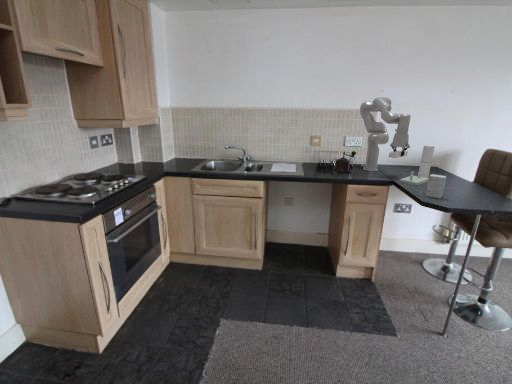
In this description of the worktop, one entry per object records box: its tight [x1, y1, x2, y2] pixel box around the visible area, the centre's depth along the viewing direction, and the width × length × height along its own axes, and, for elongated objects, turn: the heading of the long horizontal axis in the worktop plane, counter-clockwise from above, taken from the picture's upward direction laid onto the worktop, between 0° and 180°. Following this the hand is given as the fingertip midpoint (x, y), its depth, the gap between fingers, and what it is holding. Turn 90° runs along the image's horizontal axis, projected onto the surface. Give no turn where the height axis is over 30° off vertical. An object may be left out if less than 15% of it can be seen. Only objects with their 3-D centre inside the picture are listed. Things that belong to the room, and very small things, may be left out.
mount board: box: [399, 168, 429, 186], centre depth 208 cm, size 12×22×8 cm, turn 130°
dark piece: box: [334, 150, 357, 173], centre depth 236 cm, size 16×11×18 cm
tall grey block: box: [418, 144, 436, 178], centre depth 218 cm, size 7×7×25 cm
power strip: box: [388, 149, 409, 159], centre depth 214 cm, size 5×20×4 cm, turn 130°
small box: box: [425, 173, 448, 199], centre depth 172 cm, size 8×6×13 cm
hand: (398, 155), depth 215 cm, fingers closed on power strip, 5 cm apart
